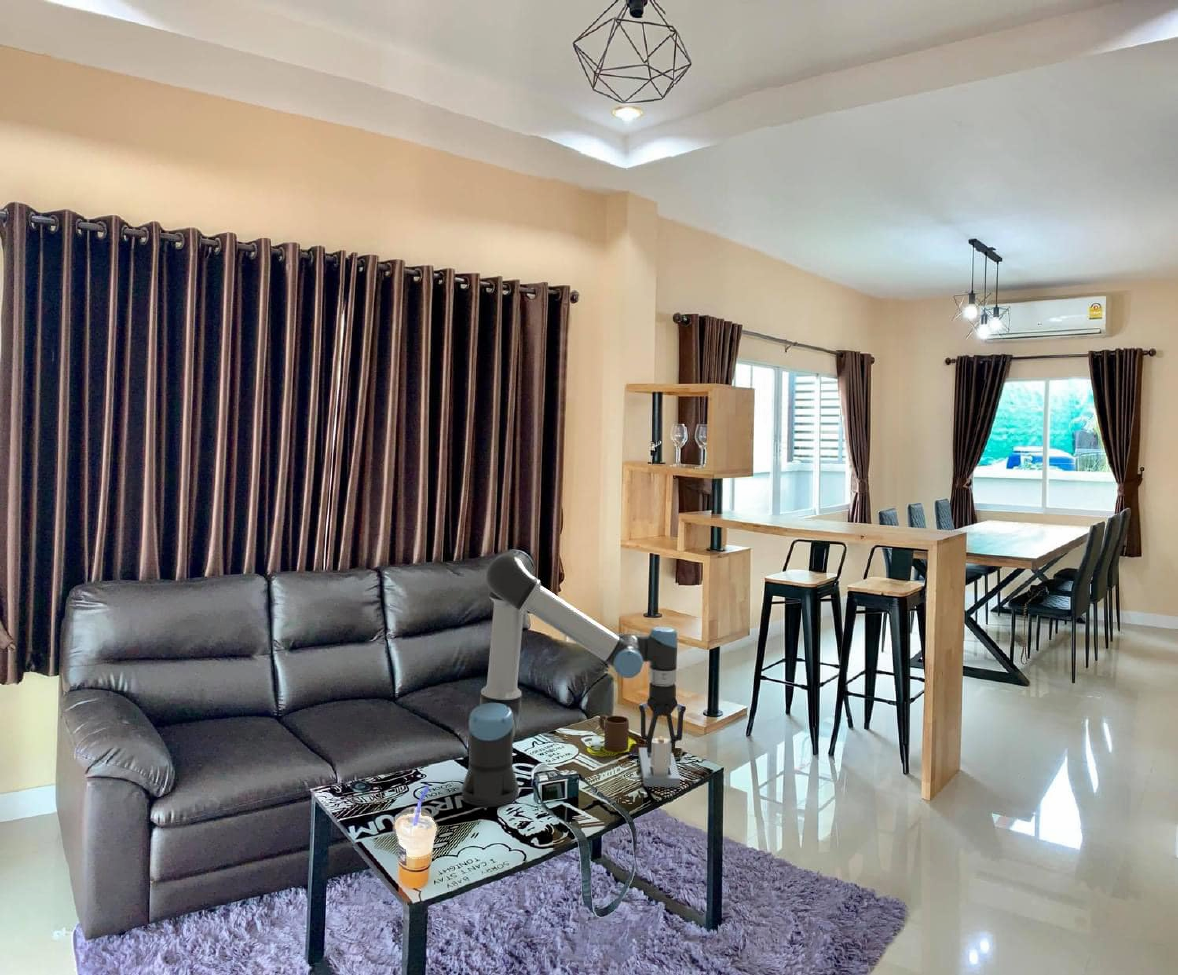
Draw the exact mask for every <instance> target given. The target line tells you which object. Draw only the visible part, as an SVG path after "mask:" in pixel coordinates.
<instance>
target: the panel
mask: <svg viewBox="0 0 1178 975" xmlns="http://www.w3.org/2000/svg"><path fill="white" fill-rule="evenodd" d="M650 758H651V753H648V752H647V747H638V760H639V766H640V771H641V778H642V783H643V787H649V788H650V787H653V788H655V787H658V788H665V787H666V788H680V787H681V777H680V773H679V771H678V766H677V762H676V759H675V756H674V753H671V766H668V775H653V765H651V762H650Z"/></svg>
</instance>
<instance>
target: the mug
mask: <svg viewBox="0 0 1178 975" xmlns="http://www.w3.org/2000/svg"><path fill="white" fill-rule="evenodd" d="M629 721H630V720H629V719H628V718H627V717H626V716H623V715H610V716H608V715H606V714H601V715H600V716H599V718H598V724H599V728H600V729H601V730H602V731H603V732H604V734H603V735H604V742H603V744H604V745H603V747H604V749H606V750H607V751H609V752H613V753H615V752H616V753H618V752H625V751H626V750H628V749H629V740H630V739H629V736H630V722H629Z"/></svg>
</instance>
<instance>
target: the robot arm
mask: <svg viewBox="0 0 1178 975" xmlns="http://www.w3.org/2000/svg"><path fill="white" fill-rule="evenodd" d="M535 568H536V567H535V565H534V560H532V558H531V556H530V555H528V553H526V552H525V551H522V550H519V549H508V550H504V551H502V552H500V553H499V554H498V555H497V557H496V558H494V559H493V561H492V562H490V564H489V566H488V567H487V570H486V577H485V578H486V584H487V586H488V588H489V599H490V600H491V601H492V602H493V612H492V621H491V622H492V623H491V624H492V625H491V633H490V634H491V636H490V645H489V658H488V659H489V660H488V669H487V670H488V671H487V680H486V681H487V682H486V685H485V686H484V687H483V688H481V690H480V697H479V698H480V700H479V705H478V706H476V707H475V708H473V710H471V712H470V714H469V720H468V729H469V733H468V734H469V735H468V736H469V737H468V739H469V740H468V743H469V744H468V746H469V747H468V753H469V754H468V769H467V773H466V775H465V778H464V780H463V783H462V788H461V797H462V799H463V800H464V802H466V803H467V804H469V805H472V806H476V807H482V808H494V807H495V808H496V807H501V806H505V805H508V804H511V803H512V802H514V801H516V799H517V798H518V796H519V784H518V780H517V777H516V774H515V770H514V768H513V752H514V751H513V750H514V749H513V747H514V746H513V744H514V743H513V742H514V737H515V734H516V732H517V728H518V727H519V725H520V723H521V720H522V715H523V710H522V706H521V705H522V691H521V689H519V688H518V681H519V680H518V679H519V669H520V656H521V647H522V646H521V645H522V634H523V625H524V624H523V623H524V612H525V611H527V612H528V613H530V614H532V615H533V616H535V617H536V618H538V619H539V620H541V621H542V622H544V623H545V624H547V625H549V626H550V627H552V628H553V629H555V630H556V631H557V632H559V633H561V634H562V635H564V636H565V637H567V638H568V639H570V640H571V641H573V642H574V643H576V644H577V645H579V646H580V647H582V648H584V649H586V650H587V651H589V652H590V653H591V654H593V655H595V656H596V657H597V658H600V659H601V660H602V661H604V662H605V663H606V664H608V665H610V666H611V667H613V668H614V671H615V672H616V674H618V675H619V676H620V677H622V678H624V679H631V678H632V679H633V678H634V677H637V675H639V674H640V672H641V670H642V668H643V664H644V663H647V662H648V663H649V687H648V688H649V689H648V691H649V694H648V698H647V701H645V702H643V703H642V702H639V703H638V709H639V712H640V737H641V740H643V741H645V742H646V748H647V752H648V753H651V758H650V762H651V765H654V734H655V729H656V724H657V720H658V719H659V717H662V716H663V717H666V720H667V727H668V731H669V737H670V739H668V742H669V761H668V766H671V753H673V754H675V752H676V742H678V741H682V739H683V730H684V729H683V727H684V714H685V712H686V710H687V707H686V705H685V704H684V703H679V702H678V700H677V698H676V697H677V684H676V683H677V660H678V632H677V630H676V629H674V628H673V627H669V626H654V627H652V628H651V630H650V633H649V634H638V633H637V634H634V633H632V634H631V633H630V634H628V633H623V632H620V633H614V632H613V631H611V630H609V629H608V627H607V628H606V627H605V626H604V625H603V624H600V623H599V622H597V621H596V620H594V619H593V618H592V617H590V616H588V615H587V614H585V613H584V612H582V611H580V610H579V609H577V607H575V606H573V605H571V604H570V603H568V602H567V601H565V600H564V599H563V598H561V597H560V596H557V595H556V594H555V593H553V591H550V590H548V589H547V588H546V587H544V586H543V585H542V584H541V583H542V582H541V580H540V579H538V577H536V576H535V570H536V569H535ZM648 707H649V709H650V710H651V711H652V713H651V719H650V723H649V727H648V732H647V733H646V730H647V729H646V724H647V723H646V721H647V720H646V718H647V717H646V712H647V711H648ZM675 709H676V710H677V726H676V734H675V730H674V724H673V719H672V713H673V712H674V710H675Z"/></svg>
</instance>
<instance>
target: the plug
mask: <svg viewBox="0 0 1178 975" xmlns="http://www.w3.org/2000/svg"><path fill="white" fill-rule="evenodd" d="M653 739H654V765H653V775H668V761H669V742H668V740H669V739H668V738H667V737H664V736H663V735H659V736H658V737H653Z"/></svg>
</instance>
